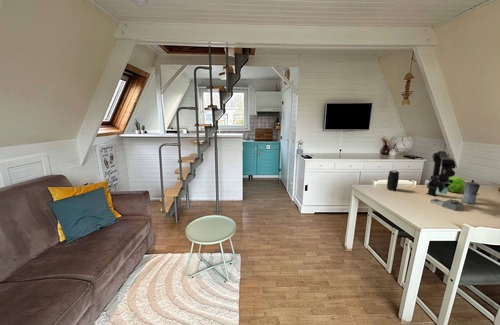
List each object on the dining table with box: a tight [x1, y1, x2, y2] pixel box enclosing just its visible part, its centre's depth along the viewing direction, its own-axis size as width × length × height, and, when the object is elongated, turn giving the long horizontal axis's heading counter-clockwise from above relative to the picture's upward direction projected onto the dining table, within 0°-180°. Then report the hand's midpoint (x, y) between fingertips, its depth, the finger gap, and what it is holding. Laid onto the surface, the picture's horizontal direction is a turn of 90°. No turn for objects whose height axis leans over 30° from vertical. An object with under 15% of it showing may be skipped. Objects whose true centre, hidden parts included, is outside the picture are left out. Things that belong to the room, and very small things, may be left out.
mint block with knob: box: [436, 187, 449, 195], centre depth 170 cm, size 5×5×6 cm
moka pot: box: [460, 179, 481, 205], centre depth 172 cm, size 10×15×20 cm, turn 161°
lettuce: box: [447, 176, 466, 193], centre depth 201 cm, size 17×20×15 cm
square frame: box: [429, 198, 464, 211], centre depth 168 cm, size 12×17×6 cm
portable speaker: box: [386, 170, 400, 191], centre depth 205 cm, size 9×9×20 cm
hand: (441, 191), depth 170 cm, fingers closed on mint block with knob, 5 cm apart
